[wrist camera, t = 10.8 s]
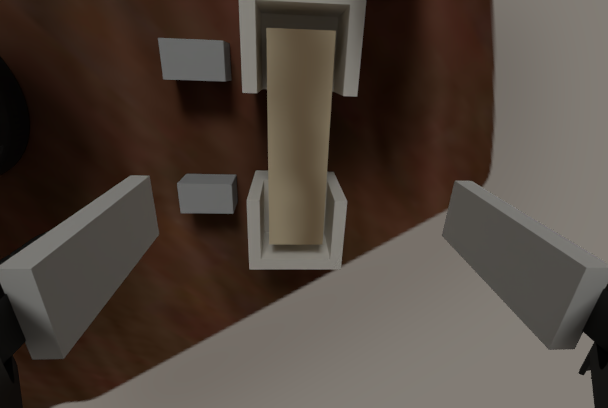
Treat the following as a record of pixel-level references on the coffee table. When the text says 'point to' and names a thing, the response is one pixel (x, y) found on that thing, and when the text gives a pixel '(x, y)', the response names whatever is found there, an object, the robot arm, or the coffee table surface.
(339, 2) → the bracket pair
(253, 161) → the coffee table surface
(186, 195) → the rest blocks
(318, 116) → the rail
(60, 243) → the robot arm
